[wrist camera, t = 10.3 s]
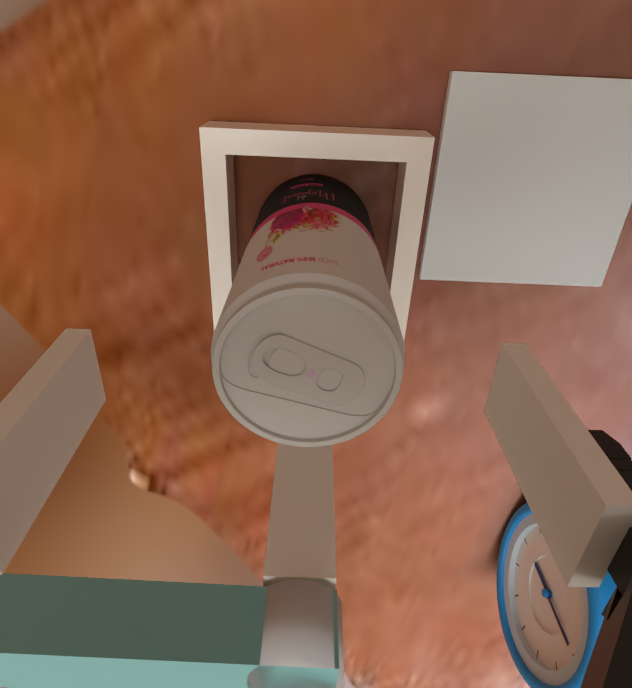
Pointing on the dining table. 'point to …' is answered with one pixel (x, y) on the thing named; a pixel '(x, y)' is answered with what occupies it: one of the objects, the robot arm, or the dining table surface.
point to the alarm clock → (545, 609)
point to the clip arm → (168, 634)
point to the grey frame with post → (412, 180)
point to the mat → (529, 179)
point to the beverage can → (309, 321)
